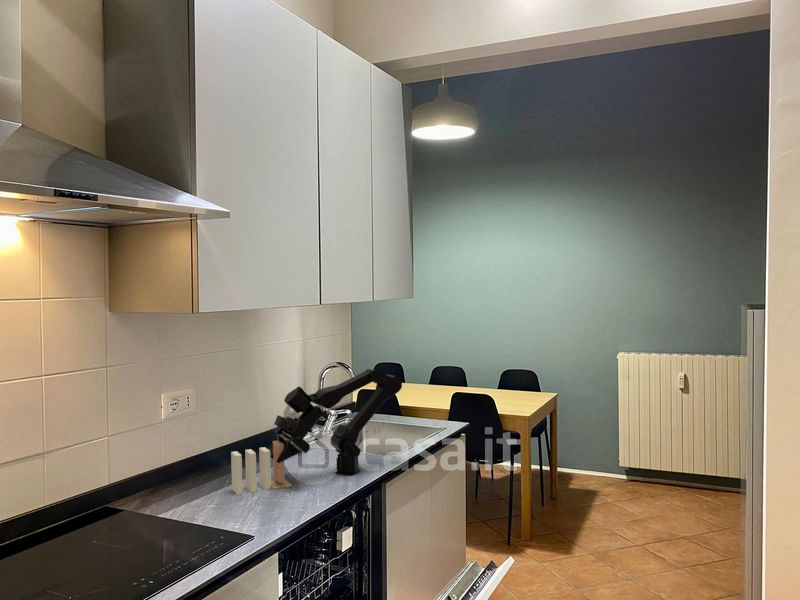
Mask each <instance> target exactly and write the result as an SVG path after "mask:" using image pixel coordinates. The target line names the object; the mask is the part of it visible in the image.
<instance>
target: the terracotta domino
mask: <svg viewBox="0 0 800 600" xmlns="http://www.w3.org/2000/svg"><path fill="white" fill-rule="evenodd" d="M283 449H284V444H283V443H281V442H280V441H277V440H272V452H273V459H272V462H273V463H272V466H273V467H272V468H273V470H272V471H273V480H277V481H278V482H279V483H280V482H285V480H286V479H285V478H286V477H285V460H284V461H282V462H280V463H278V462H277V461H276V460H277V459H278V457H279V455H280V454H281V452H282V451H283Z"/></svg>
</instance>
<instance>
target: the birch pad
mask: <svg viewBox="0 0 800 600" xmlns="http://www.w3.org/2000/svg"><path fill="white" fill-rule="evenodd" d="M290 486H291V487H293V484H292V483H290V482H289V481H288V480H286V479H285V482H280V483H279V482H278V481H277V480H275V479H272V480H271V489H273V490H278V489H285V488H290ZM284 487H285V488H284Z"/></svg>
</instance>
